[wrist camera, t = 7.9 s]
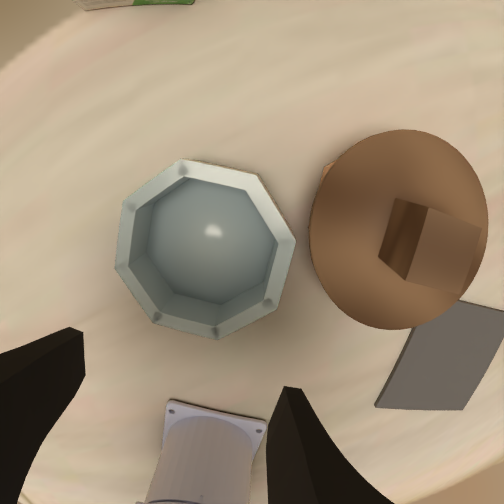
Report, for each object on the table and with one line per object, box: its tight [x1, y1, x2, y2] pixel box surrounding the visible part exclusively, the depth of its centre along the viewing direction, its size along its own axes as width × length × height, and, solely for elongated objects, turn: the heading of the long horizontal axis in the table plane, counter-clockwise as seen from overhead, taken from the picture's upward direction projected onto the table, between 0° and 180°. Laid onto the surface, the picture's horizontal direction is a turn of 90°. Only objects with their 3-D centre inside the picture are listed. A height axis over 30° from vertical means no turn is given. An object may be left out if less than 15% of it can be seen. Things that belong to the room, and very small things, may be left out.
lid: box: [309, 130, 488, 330], centre depth 13 cm, size 10×10×4 cm
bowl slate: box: [115, 159, 296, 340], centre depth 18 cm, size 9×9×4 cm
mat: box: [374, 300, 504, 410], centre depth 21 cm, size 10×10×1 cm
